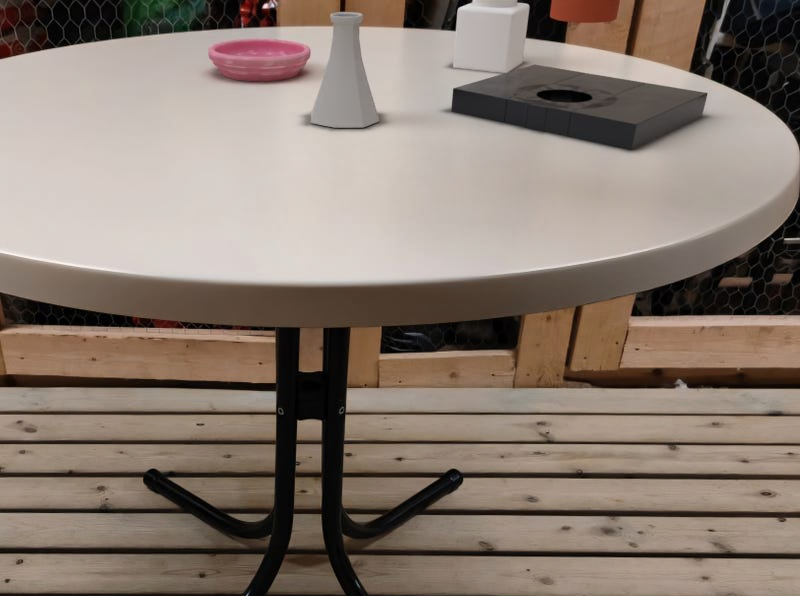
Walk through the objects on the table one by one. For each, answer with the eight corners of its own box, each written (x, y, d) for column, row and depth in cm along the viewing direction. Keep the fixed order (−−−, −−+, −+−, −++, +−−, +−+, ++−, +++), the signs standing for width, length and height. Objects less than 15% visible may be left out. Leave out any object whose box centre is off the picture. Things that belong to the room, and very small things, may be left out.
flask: (387, 115, 86) (392, 10, 81) (369, 133, 81) (373, 22, 75) (321, 109, 88) (321, 7, 83) (299, 127, 82) (298, 18, 77)
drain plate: (701, 118, 85) (707, 92, 84) (630, 152, 75) (635, 124, 74) (531, 86, 97) (534, 64, 96) (450, 113, 87) (452, 88, 86)
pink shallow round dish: (290, 60, 109) (290, 34, 108) (325, 80, 100) (325, 52, 98) (198, 68, 106) (196, 41, 104) (225, 89, 96) (224, 60, 94)
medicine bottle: (523, 63, 108) (536, -40, 101) (506, 74, 102) (519, -35, 96) (470, 58, 110) (479, -43, 104) (451, 68, 105) (460, -38, 99)
